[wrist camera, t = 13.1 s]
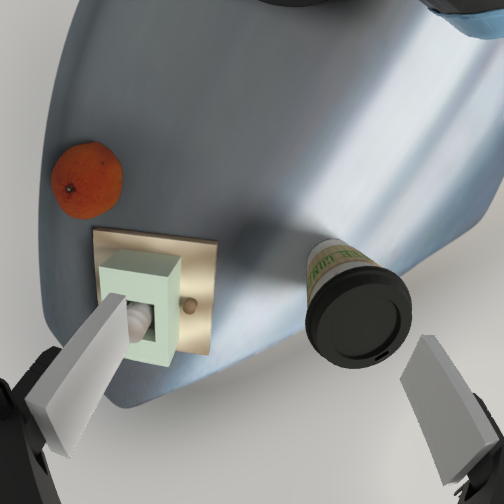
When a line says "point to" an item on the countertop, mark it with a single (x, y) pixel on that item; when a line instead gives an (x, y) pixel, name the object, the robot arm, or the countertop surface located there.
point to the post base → (191, 282)
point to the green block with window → (147, 298)
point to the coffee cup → (354, 306)
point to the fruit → (87, 180)
